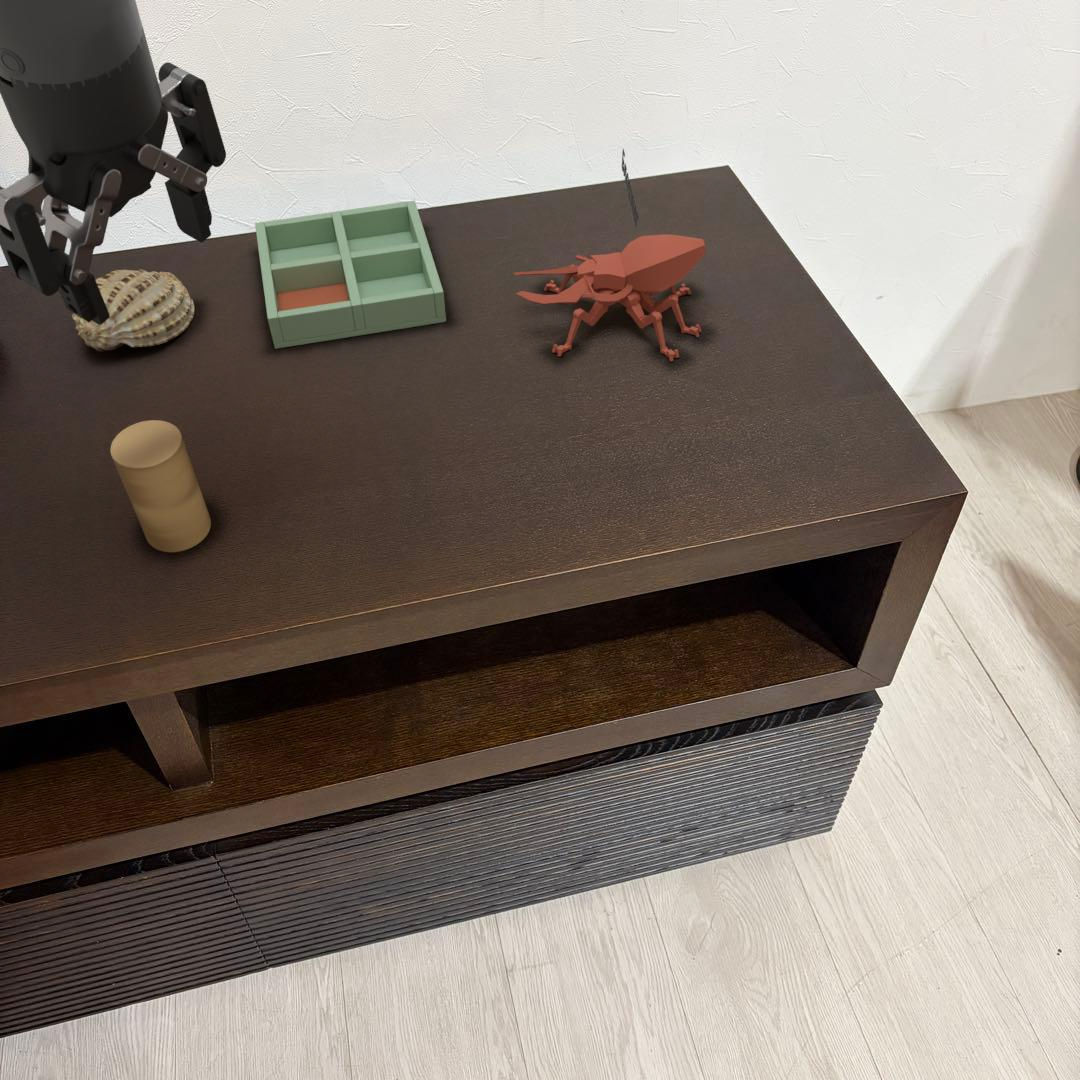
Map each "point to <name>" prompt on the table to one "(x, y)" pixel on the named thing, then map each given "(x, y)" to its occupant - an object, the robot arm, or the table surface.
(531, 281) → the table surface
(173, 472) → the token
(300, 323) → the grid
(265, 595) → the table surface
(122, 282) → the seashell
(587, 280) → the beetle
